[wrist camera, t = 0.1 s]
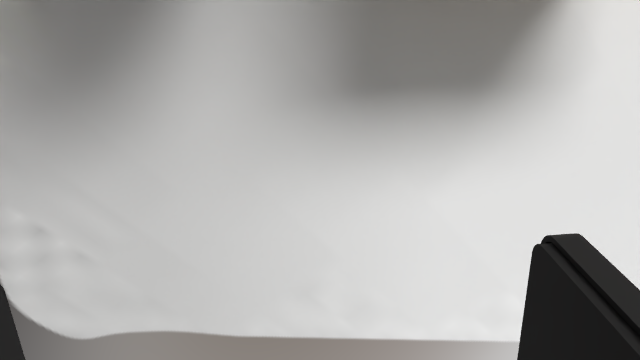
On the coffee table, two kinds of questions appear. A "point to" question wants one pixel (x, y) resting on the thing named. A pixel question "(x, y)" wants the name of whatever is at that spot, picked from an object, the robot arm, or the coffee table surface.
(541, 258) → the robot arm
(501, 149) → the coffee table surface
